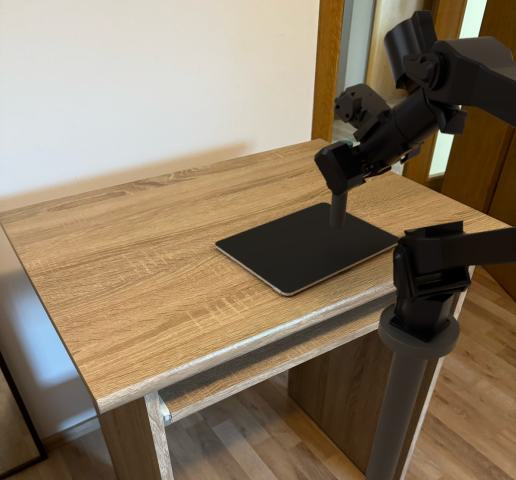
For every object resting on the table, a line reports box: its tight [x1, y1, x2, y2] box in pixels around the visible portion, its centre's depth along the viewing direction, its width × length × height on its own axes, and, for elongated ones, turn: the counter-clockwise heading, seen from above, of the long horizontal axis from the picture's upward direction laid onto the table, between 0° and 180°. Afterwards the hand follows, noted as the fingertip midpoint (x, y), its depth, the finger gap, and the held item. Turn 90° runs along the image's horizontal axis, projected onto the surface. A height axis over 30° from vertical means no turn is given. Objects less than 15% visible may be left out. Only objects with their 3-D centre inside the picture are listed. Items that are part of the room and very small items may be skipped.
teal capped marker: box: [330, 139, 354, 229], centre depth 74 cm, size 2×2×13 cm
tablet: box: [214, 202, 400, 297], centre depth 85 cm, size 27×1×20 cm
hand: (333, 183), depth 74 cm, fingers closed on teal capped marker, 2 cm apart
